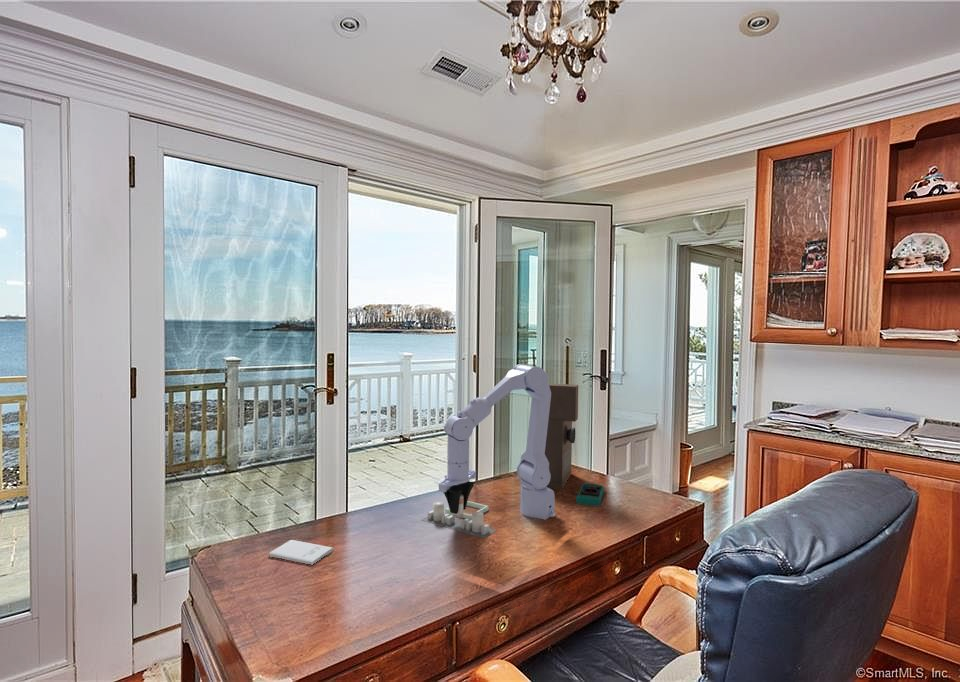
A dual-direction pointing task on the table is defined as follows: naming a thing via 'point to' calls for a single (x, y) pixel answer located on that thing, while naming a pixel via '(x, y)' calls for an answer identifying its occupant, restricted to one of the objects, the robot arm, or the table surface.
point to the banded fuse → (460, 511)
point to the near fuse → (477, 522)
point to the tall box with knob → (561, 432)
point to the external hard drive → (301, 551)
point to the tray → (467, 516)
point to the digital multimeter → (590, 494)
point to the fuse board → (459, 525)
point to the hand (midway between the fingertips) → (457, 510)
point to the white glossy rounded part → (438, 511)
